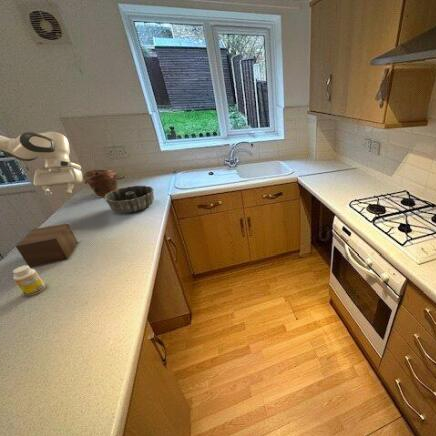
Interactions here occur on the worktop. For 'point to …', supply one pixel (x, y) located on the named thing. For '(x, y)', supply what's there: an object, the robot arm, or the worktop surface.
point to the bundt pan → (130, 198)
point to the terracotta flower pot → (101, 181)
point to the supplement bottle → (28, 280)
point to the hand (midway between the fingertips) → (58, 193)
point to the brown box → (47, 245)
